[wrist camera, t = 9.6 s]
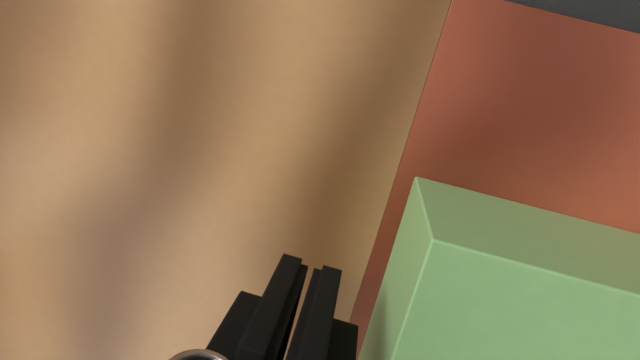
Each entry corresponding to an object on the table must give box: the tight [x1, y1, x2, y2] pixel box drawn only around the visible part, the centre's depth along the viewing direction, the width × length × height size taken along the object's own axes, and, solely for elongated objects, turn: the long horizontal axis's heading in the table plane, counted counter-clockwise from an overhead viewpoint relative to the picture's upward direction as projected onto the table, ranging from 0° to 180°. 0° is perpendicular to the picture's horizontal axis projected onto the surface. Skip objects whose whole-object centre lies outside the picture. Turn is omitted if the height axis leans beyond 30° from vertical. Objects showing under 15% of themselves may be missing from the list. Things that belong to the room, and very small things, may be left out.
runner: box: [0, 0, 640, 360], centre depth 13 cm, size 30×18×1 cm, turn 76°
